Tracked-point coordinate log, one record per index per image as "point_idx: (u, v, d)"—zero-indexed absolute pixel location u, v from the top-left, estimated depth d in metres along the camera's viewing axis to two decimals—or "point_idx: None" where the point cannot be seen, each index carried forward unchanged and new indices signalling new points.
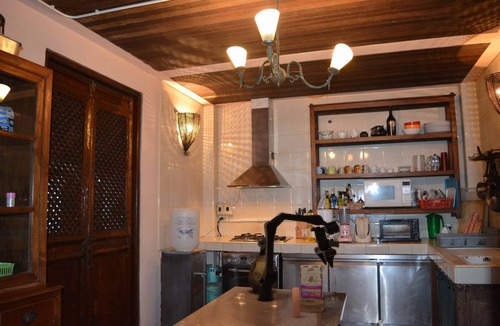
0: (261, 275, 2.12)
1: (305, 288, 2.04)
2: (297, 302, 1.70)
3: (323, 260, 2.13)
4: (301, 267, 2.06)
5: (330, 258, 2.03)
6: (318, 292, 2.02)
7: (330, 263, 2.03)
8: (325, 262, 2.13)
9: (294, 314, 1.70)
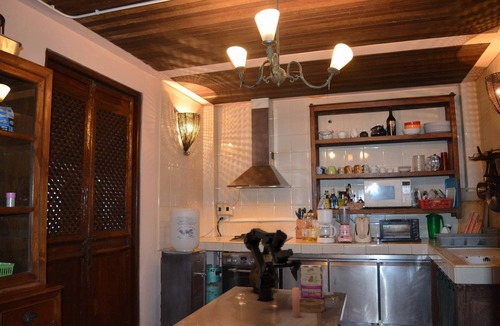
0: None
1: (305, 288, 2.04)
2: (297, 302, 1.70)
3: (294, 276, 1.84)
4: (301, 267, 2.06)
5: (272, 272, 1.81)
6: (318, 292, 2.02)
7: (274, 278, 1.80)
8: (295, 277, 1.82)
9: (294, 314, 1.70)
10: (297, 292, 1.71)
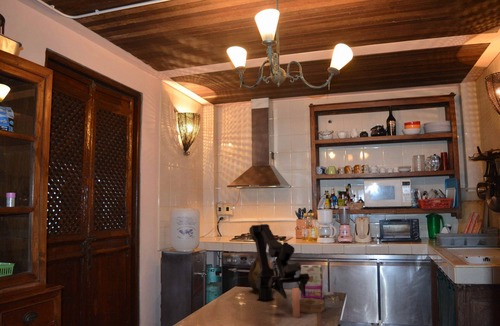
0: None
1: (305, 288, 2.04)
2: (297, 302, 1.70)
3: (302, 291, 1.76)
4: (301, 267, 2.06)
5: (279, 288, 1.74)
6: (318, 292, 2.02)
7: (281, 293, 1.72)
8: (303, 293, 1.75)
9: (294, 314, 1.70)
10: (297, 292, 1.71)
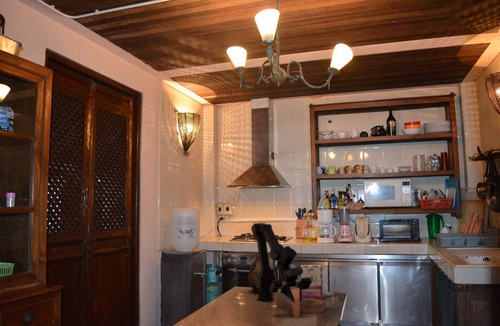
0: None
1: None
2: (297, 302, 1.70)
3: None
4: None
5: (287, 291, 1.73)
6: (318, 292, 2.02)
7: (289, 297, 1.72)
8: None
9: (294, 314, 1.70)
10: (297, 292, 1.71)
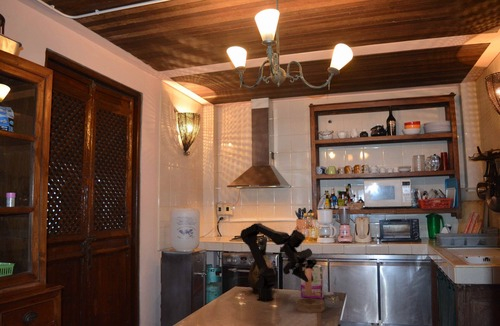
0: None
1: None
2: (310, 282, 1.80)
3: None
4: None
5: (299, 272, 1.81)
6: (318, 292, 2.02)
7: (302, 277, 1.80)
8: None
9: (307, 293, 1.79)
10: (310, 272, 1.80)
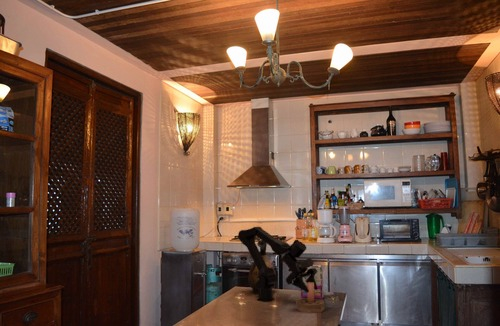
0: None
1: None
2: (313, 296, 1.82)
3: None
4: None
5: (300, 283, 1.82)
6: (318, 292, 2.02)
7: (302, 288, 1.81)
8: (314, 286, 1.86)
9: None
10: (313, 286, 1.82)
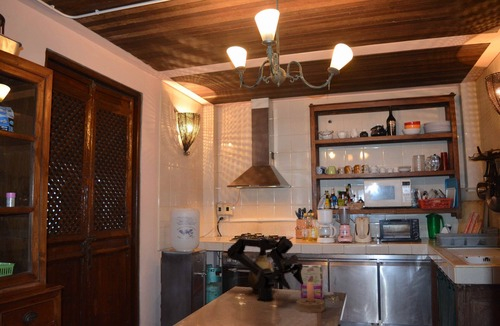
0: None
1: (305, 288, 2.04)
2: (312, 295, 1.82)
3: (298, 280, 1.94)
4: None
5: (282, 280, 1.88)
6: (318, 292, 2.02)
7: (284, 285, 1.87)
8: (300, 281, 1.93)
9: None
10: (312, 286, 1.83)
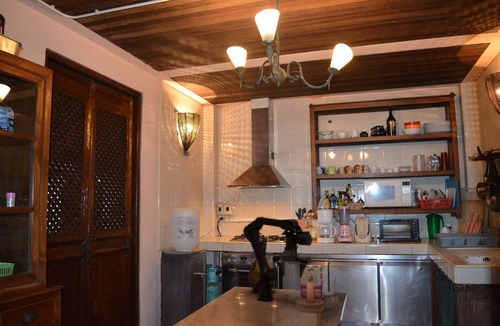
0: None
1: (305, 288, 2.04)
2: (312, 295, 1.82)
3: None
4: None
5: None
6: (318, 292, 2.02)
7: None
8: None
9: None
10: (312, 286, 1.83)
